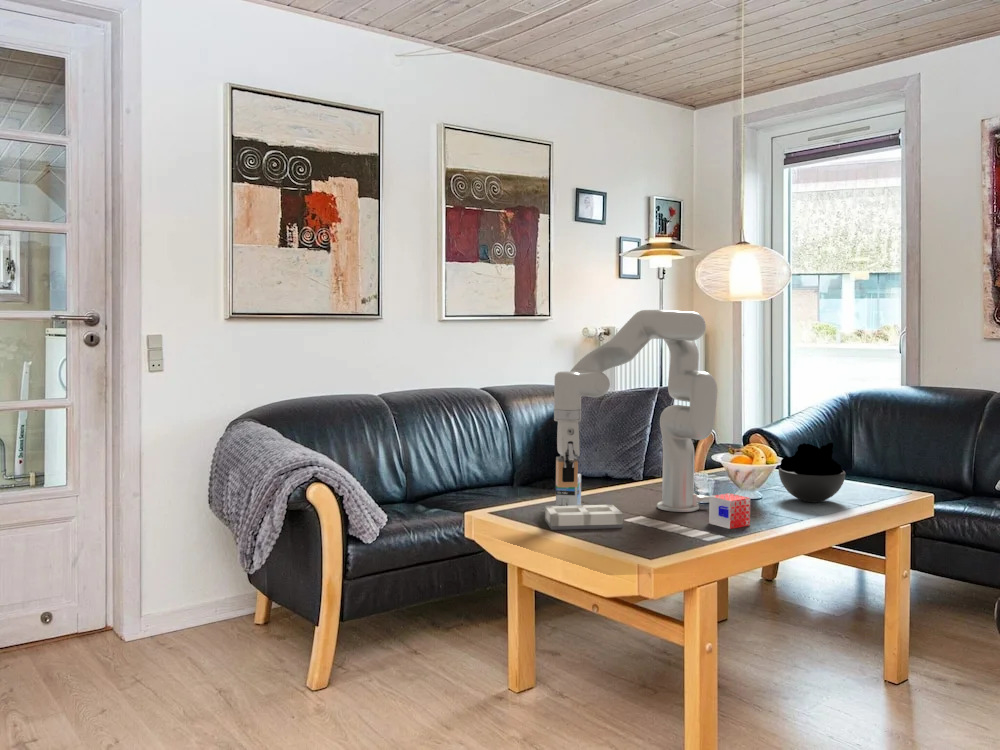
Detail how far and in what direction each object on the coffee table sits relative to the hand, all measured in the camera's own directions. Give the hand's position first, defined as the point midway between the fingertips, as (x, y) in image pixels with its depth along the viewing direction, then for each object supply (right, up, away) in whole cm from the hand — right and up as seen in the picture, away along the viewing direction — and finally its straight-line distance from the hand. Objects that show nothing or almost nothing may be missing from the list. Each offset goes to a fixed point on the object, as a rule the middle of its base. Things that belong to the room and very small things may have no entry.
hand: (566, 479), depth 246 cm
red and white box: (+46, -13, +1) cm, 48 cm away
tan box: (0, -2, 0) cm, 2 cm away
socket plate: (+5, -13, +1) cm, 14 cm away
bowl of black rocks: (+80, -11, +31) cm, 87 cm away
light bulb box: (+2, -12, +18) cm, 22 cm away
